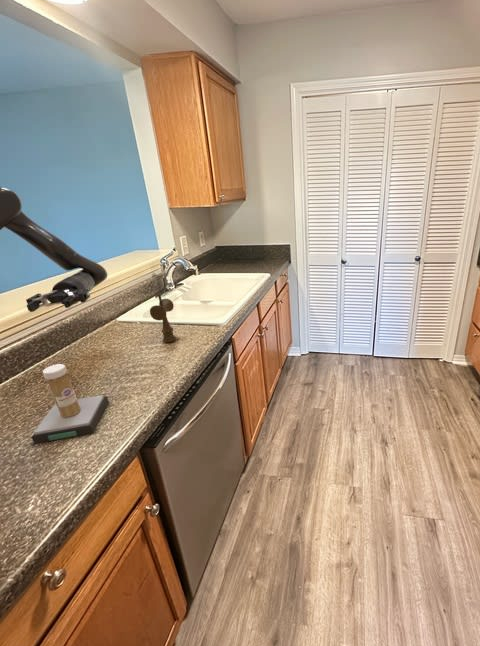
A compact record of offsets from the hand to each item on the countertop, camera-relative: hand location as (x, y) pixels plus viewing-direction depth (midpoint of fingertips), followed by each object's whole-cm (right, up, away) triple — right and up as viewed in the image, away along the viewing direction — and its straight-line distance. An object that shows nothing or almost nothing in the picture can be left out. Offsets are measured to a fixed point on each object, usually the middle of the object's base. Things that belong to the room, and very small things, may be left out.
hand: (48, 306), depth 87 cm
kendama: (+16, -12, +42) cm, 47 cm away
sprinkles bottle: (+8, -28, -2) cm, 29 cm away
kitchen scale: (+8, -31, -1) cm, 32 cm away
